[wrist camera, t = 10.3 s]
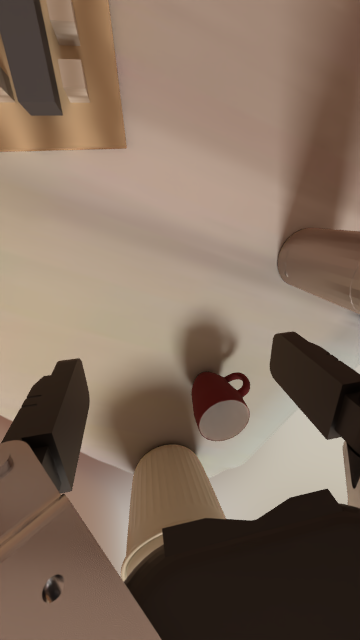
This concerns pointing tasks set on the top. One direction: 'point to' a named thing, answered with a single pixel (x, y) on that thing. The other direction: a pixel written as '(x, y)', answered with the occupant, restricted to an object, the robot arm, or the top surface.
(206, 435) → the mug
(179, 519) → the canister
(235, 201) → the top surface
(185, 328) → the top surface
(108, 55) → the board
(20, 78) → the grey and orange bar
